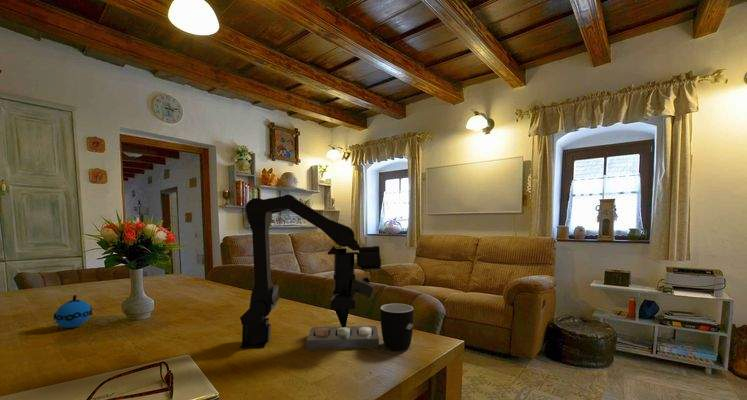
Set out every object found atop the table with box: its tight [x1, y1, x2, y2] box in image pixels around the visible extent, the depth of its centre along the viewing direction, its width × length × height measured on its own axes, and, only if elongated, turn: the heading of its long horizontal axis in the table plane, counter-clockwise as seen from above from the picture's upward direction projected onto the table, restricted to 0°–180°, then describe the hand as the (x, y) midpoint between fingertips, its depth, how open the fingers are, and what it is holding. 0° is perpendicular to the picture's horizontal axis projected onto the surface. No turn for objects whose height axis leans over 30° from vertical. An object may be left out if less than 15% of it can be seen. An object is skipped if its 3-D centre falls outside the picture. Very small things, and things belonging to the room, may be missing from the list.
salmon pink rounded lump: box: [315, 328, 328, 336], centre depth 86 cm, size 4×4×3 cm
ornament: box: [53, 294, 93, 329], centre depth 98 cm, size 9×9×10 cm
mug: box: [379, 303, 415, 352], centre depth 84 cm, size 12×9×10 cm
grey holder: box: [305, 325, 380, 351], centre depth 86 cm, size 10×19×2 cm, turn 94°
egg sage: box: [337, 326, 350, 336], centre depth 86 cm, size 4×4×3 cm
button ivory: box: [359, 327, 371, 335], centre depth 87 cm, size 4×4×3 cm
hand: (343, 327), depth 86 cm, fingers closed
